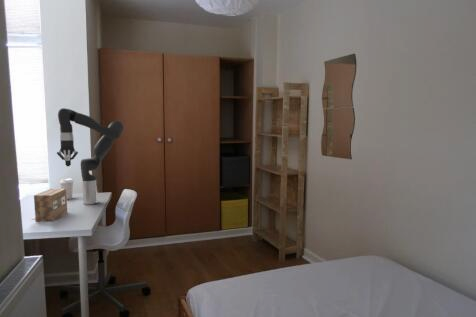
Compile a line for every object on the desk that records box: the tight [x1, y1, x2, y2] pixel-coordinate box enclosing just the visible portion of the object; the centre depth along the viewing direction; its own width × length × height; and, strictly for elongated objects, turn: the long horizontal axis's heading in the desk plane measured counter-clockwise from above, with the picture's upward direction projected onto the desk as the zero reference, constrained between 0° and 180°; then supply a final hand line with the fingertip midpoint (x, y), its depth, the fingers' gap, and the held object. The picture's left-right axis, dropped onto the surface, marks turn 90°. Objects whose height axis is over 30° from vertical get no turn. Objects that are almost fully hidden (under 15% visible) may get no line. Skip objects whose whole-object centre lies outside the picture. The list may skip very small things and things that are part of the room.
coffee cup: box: [59, 178, 74, 200], centre depth 260 cm, size 10×10×15 cm
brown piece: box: [33, 188, 68, 223], centre depth 211 cm, size 10×20×16 cm, turn 4°
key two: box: [53, 200, 58, 210], centre depth 205 cm, size 6×5×5 cm
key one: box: [61, 196, 65, 205], centre depth 216 cm, size 6×5×5 cm
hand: (68, 166), depth 218 cm, fingers closed
